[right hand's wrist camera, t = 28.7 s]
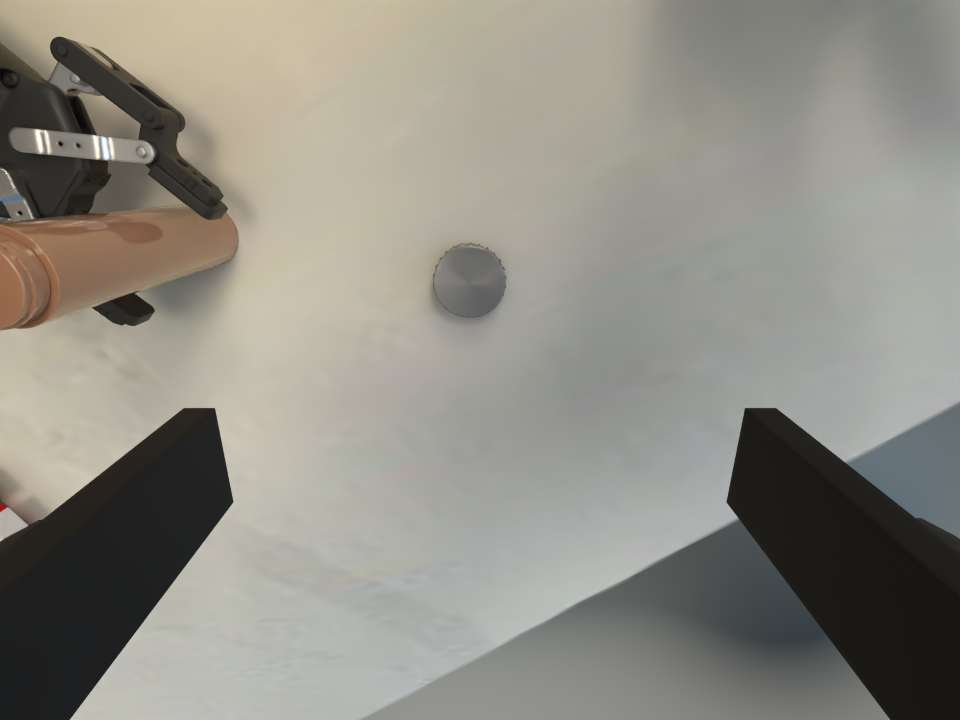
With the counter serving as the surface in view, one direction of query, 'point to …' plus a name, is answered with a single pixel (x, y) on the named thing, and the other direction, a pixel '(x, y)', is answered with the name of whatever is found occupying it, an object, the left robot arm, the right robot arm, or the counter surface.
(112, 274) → the jar
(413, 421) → the counter surface
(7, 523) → the toy
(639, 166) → the counter surface
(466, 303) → the lid
